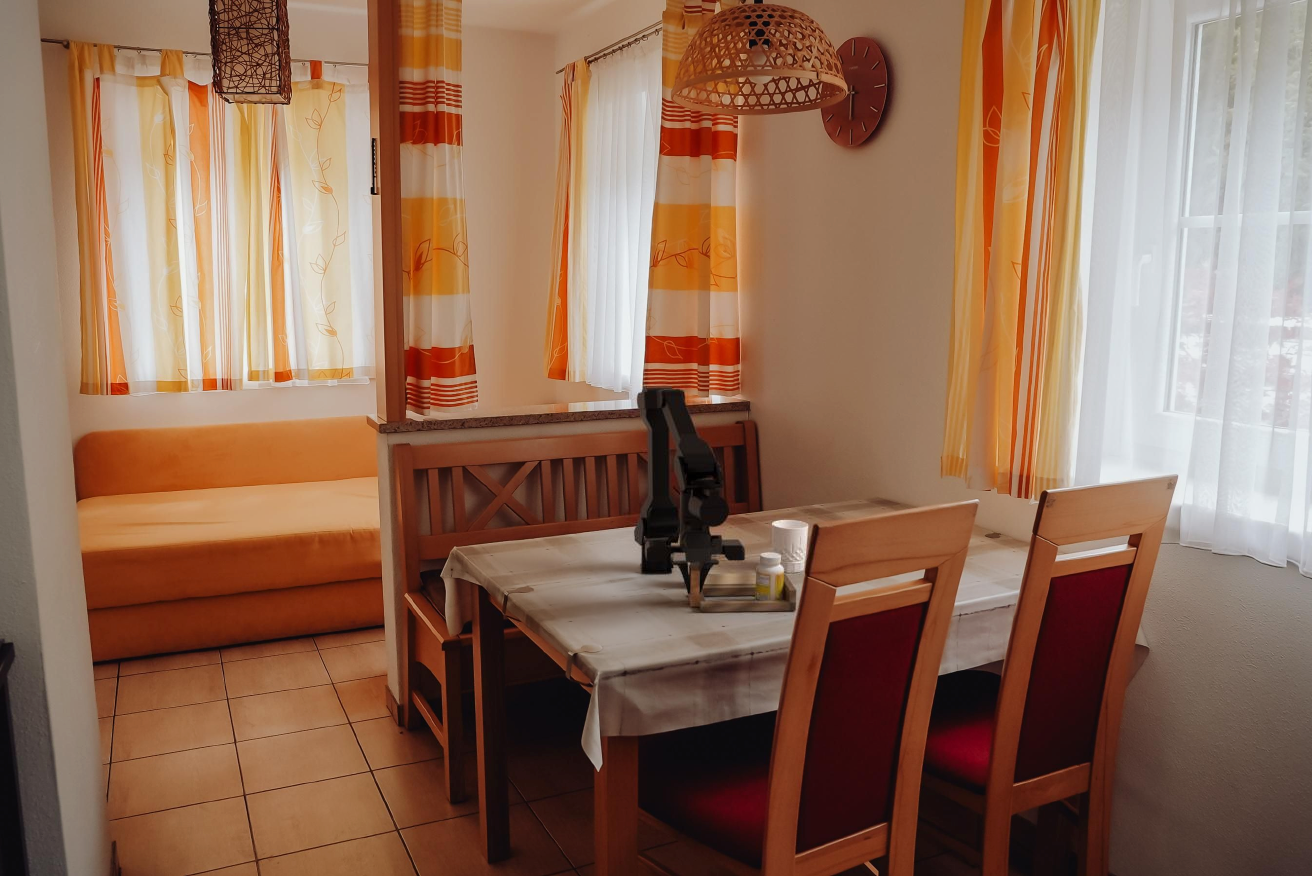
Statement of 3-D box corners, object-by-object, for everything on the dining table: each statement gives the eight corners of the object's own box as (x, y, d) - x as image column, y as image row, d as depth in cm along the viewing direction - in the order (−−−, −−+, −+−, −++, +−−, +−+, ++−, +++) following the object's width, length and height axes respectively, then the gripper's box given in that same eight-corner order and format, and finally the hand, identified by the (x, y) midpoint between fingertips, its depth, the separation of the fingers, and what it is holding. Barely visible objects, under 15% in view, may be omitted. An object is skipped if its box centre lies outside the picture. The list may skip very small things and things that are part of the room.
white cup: (805, 575, 209) (807, 529, 207) (768, 572, 210) (770, 527, 209) (807, 565, 216) (809, 520, 215) (772, 562, 218) (773, 519, 216)
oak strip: (692, 589, 197) (693, 556, 196) (689, 579, 204) (689, 547, 203) (788, 588, 198) (789, 555, 197) (782, 578, 205) (783, 546, 204)
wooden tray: (692, 611, 184) (693, 575, 183) (687, 594, 194) (687, 559, 193) (795, 610, 185) (796, 574, 184) (784, 592, 196) (785, 558, 195)
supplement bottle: (758, 607, 187) (759, 559, 186) (752, 598, 192) (753, 551, 191) (785, 606, 188) (787, 558, 186) (779, 598, 193) (780, 550, 192)
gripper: (648, 525, 178) (648, 607, 180) (750, 524, 179) (748, 606, 182) (645, 511, 189) (644, 589, 191) (740, 510, 190) (739, 588, 193)
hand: (693, 593), depth 189 cm, fingers closed on wooden tray, 2 cm apart
